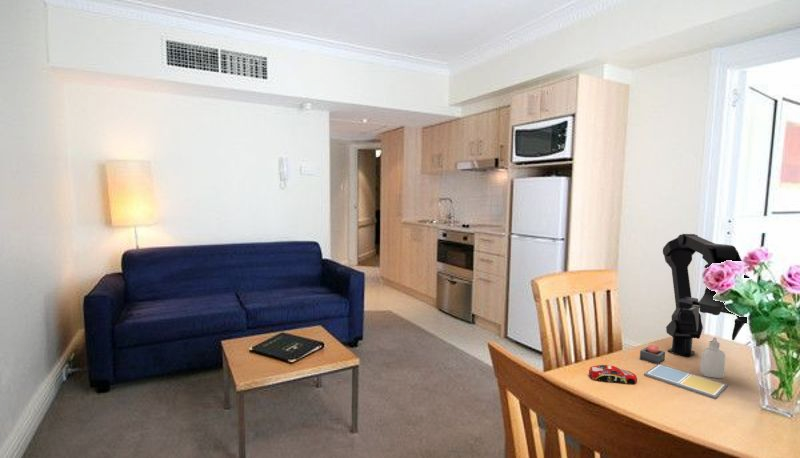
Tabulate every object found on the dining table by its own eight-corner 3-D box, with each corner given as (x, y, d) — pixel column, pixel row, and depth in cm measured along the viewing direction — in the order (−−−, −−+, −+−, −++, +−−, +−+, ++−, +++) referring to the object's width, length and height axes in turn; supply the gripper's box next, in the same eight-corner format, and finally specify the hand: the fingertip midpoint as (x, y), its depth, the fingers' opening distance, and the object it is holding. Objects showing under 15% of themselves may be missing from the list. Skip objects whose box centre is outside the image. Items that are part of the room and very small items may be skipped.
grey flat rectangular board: (658, 365, 130) (658, 363, 130) (727, 386, 116) (728, 384, 116) (643, 375, 123) (643, 373, 123) (715, 399, 109) (715, 396, 109)
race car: (633, 378, 122) (634, 365, 121) (639, 386, 117) (640, 373, 116) (587, 373, 125) (587, 361, 124) (591, 381, 120) (592, 368, 119)
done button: (649, 349, 136) (649, 344, 136) (659, 352, 134) (660, 347, 134) (645, 352, 134) (645, 346, 134) (656, 355, 132) (656, 349, 132)
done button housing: (646, 355, 138) (646, 346, 138) (664, 360, 134) (665, 351, 134) (639, 359, 135) (640, 350, 135) (658, 364, 130) (658, 356, 130)
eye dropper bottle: (701, 370, 127) (703, 334, 125) (723, 375, 123) (726, 338, 122) (700, 375, 123) (703, 337, 122) (723, 380, 120) (726, 342, 118)
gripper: (672, 283, 123) (669, 332, 124) (751, 296, 108) (746, 351, 110) (685, 279, 130) (682, 325, 131) (761, 290, 115) (756, 342, 116)
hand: (714, 335), depth 122 cm, fingers open, 9 cm apart
